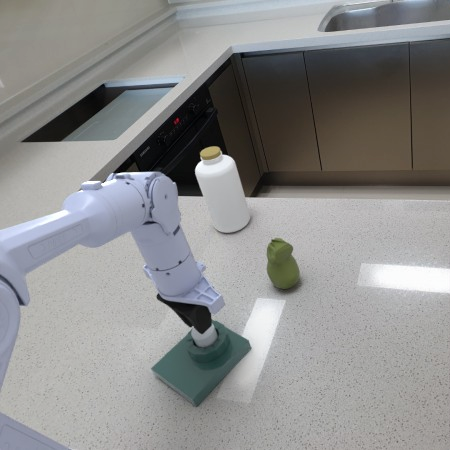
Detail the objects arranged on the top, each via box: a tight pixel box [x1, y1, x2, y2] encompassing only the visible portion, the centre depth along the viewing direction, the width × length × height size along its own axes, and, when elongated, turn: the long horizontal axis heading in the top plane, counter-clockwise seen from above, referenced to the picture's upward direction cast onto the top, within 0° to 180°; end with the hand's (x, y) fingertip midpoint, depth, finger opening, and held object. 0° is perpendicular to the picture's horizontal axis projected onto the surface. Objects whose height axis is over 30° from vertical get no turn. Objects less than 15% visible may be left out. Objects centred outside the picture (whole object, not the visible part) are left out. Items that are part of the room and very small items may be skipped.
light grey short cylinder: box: [191, 324, 218, 348], centre depth 71 cm, size 4×4×2 cm
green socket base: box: [150, 319, 252, 407], centre depth 71 cm, size 12×10×4 cm
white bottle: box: [194, 145, 251, 234], centre depth 96 cm, size 8×8×18 cm
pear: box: [266, 237, 301, 290], centre depth 80 cm, size 6×5×10 cm
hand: (200, 325), depth 67 cm, fingers closed
